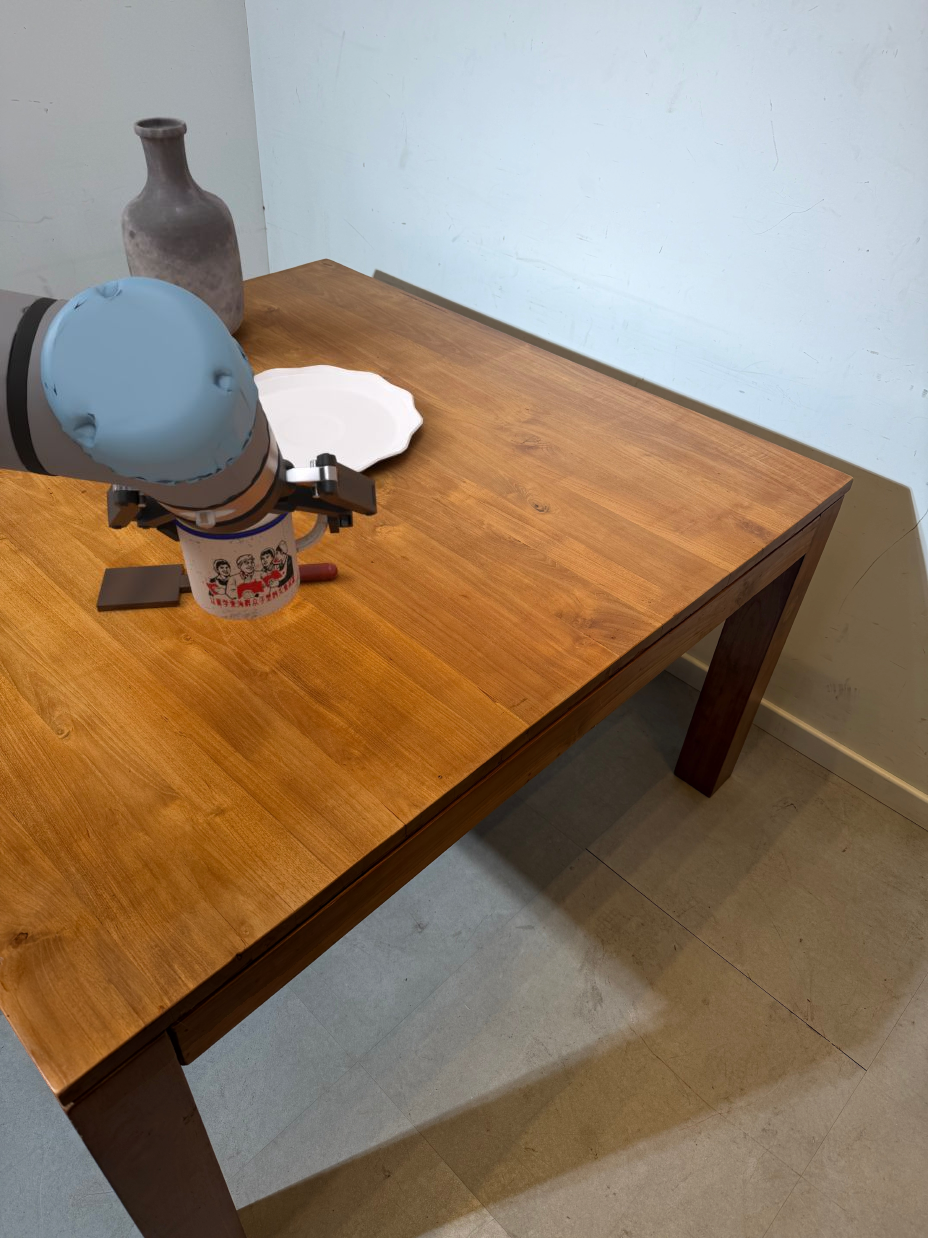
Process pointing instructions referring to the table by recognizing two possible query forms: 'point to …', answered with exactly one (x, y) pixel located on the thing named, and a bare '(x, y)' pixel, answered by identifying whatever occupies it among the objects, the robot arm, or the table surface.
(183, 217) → the vase
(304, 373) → the plate
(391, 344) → the table surface
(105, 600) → the spatula
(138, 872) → the table surface
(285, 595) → the teacup with lid
